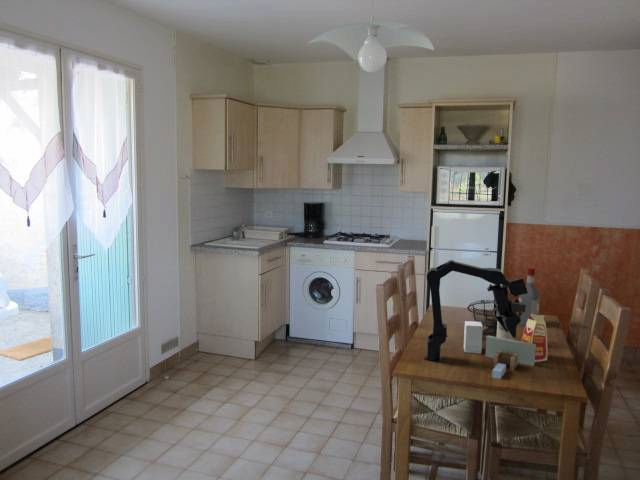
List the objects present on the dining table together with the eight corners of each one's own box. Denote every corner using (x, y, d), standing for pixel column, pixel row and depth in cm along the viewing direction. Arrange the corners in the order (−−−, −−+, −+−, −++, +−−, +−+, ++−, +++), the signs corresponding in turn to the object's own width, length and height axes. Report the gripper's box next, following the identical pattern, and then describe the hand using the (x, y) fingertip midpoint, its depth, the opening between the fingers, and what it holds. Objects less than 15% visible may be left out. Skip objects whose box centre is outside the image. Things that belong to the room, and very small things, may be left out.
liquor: (516, 324, 275) (519, 268, 271) (521, 320, 282) (524, 266, 278) (534, 327, 270) (538, 271, 265) (538, 323, 277) (542, 268, 273)
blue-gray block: (500, 379, 205) (500, 371, 204) (492, 377, 206) (492, 370, 206) (505, 372, 212) (506, 364, 212) (497, 370, 214) (498, 363, 213)
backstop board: (533, 366, 218) (535, 345, 217) (485, 356, 229) (486, 336, 227) (534, 364, 220) (535, 344, 218) (486, 355, 230) (487, 335, 229)
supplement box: (481, 353, 232) (483, 326, 230) (464, 352, 233) (465, 325, 231) (480, 348, 239) (481, 321, 237) (463, 347, 240) (464, 320, 239)
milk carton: (531, 362, 222) (534, 317, 219) (517, 354, 231) (520, 311, 228) (549, 360, 225) (552, 315, 222) (535, 353, 233) (538, 309, 231)
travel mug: (503, 338, 252) (505, 302, 250) (517, 343, 246) (520, 306, 243) (492, 341, 248) (494, 305, 245) (506, 346, 241) (509, 309, 239)
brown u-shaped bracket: (513, 370, 213) (514, 359, 212) (493, 366, 217) (494, 355, 216) (517, 365, 219) (517, 353, 218) (497, 361, 223) (498, 350, 222)
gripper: (529, 298, 205) (538, 335, 207) (513, 289, 224) (522, 324, 225) (501, 305, 206) (510, 342, 207) (488, 296, 225) (496, 330, 226)
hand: (510, 334), depth 216 cm, fingers open, 9 cm apart
